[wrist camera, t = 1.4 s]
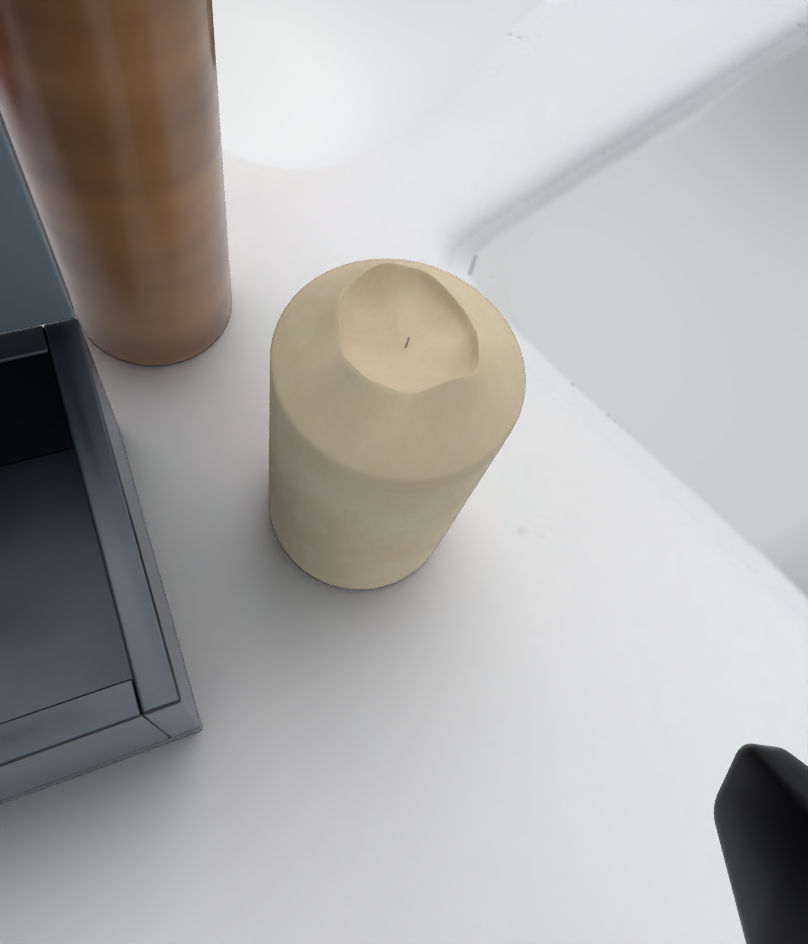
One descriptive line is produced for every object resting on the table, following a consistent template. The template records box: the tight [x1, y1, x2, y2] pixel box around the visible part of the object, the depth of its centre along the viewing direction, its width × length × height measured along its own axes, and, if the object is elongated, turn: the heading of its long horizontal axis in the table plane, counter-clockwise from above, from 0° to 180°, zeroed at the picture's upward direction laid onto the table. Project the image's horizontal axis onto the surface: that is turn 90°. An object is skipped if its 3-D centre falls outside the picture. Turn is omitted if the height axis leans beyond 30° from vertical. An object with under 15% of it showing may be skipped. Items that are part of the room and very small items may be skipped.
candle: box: [269, 259, 526, 589], centre depth 20 cm, size 6×6×10 cm
